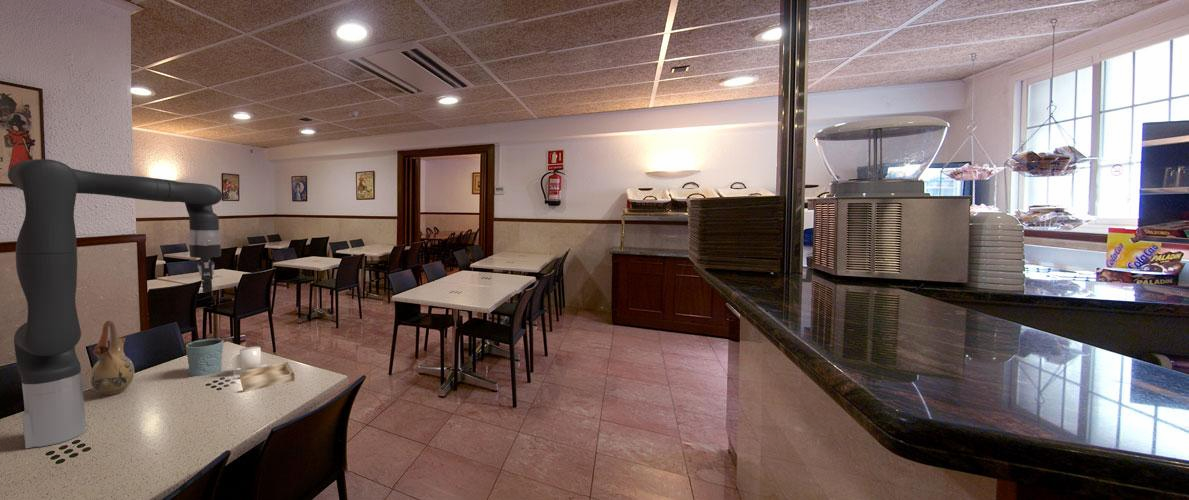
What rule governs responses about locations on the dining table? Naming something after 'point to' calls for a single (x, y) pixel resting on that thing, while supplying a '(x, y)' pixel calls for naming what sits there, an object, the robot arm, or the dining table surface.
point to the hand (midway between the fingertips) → (207, 289)
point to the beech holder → (266, 376)
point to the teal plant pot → (204, 356)
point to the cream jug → (247, 359)
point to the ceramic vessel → (111, 364)
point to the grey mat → (237, 372)
